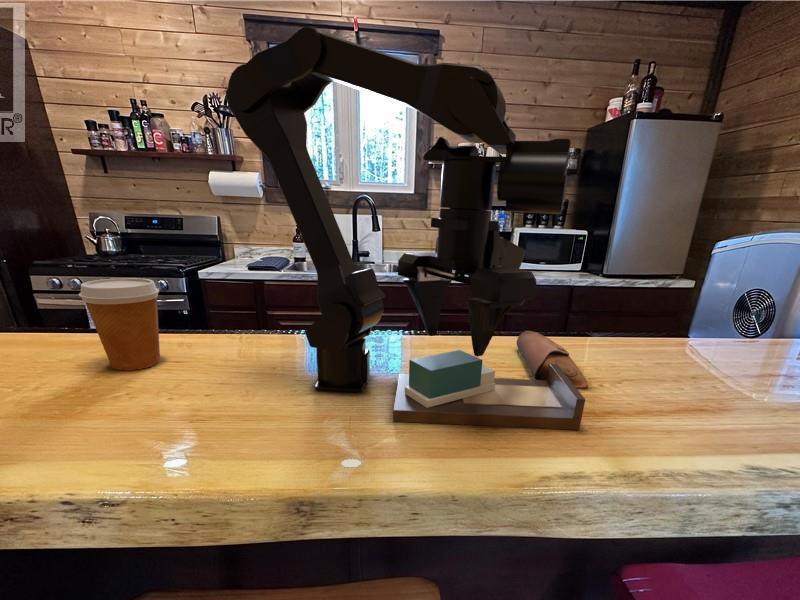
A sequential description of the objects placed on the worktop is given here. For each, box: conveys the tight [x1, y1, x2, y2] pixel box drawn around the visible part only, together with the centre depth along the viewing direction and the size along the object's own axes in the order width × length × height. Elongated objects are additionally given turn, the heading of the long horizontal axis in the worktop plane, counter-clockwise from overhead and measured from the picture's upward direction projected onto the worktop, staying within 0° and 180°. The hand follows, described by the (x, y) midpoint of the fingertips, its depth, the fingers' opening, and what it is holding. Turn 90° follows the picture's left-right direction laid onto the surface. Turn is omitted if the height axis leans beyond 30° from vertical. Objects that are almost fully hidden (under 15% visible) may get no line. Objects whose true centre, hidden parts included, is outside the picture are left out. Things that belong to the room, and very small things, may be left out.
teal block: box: [405, 349, 496, 408], centre depth 55 cm, size 11×5×5 cm, turn 124°
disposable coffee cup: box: [78, 277, 161, 371], centre depth 63 cm, size 10×10×12 cm
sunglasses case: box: [516, 330, 589, 389], centre depth 71 cm, size 18×7×7 cm
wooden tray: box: [392, 364, 586, 431], centre depth 56 cm, size 22×12×4 cm, turn 89°
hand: (454, 344), depth 54 cm, fingers open, 9 cm apart
